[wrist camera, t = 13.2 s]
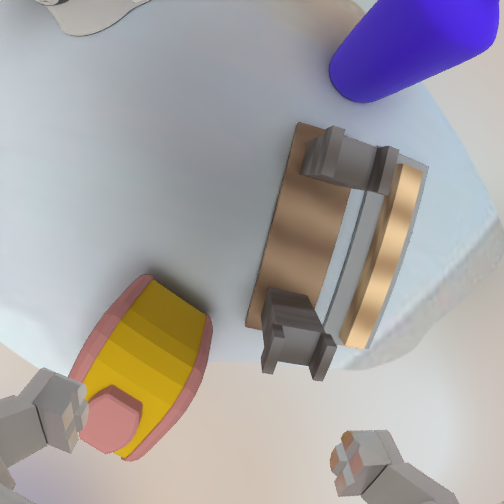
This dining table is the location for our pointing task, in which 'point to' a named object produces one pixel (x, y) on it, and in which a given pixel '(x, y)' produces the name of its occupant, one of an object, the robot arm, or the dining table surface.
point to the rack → (310, 241)
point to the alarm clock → (141, 368)
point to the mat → (359, 255)
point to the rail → (382, 256)
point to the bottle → (410, 44)
